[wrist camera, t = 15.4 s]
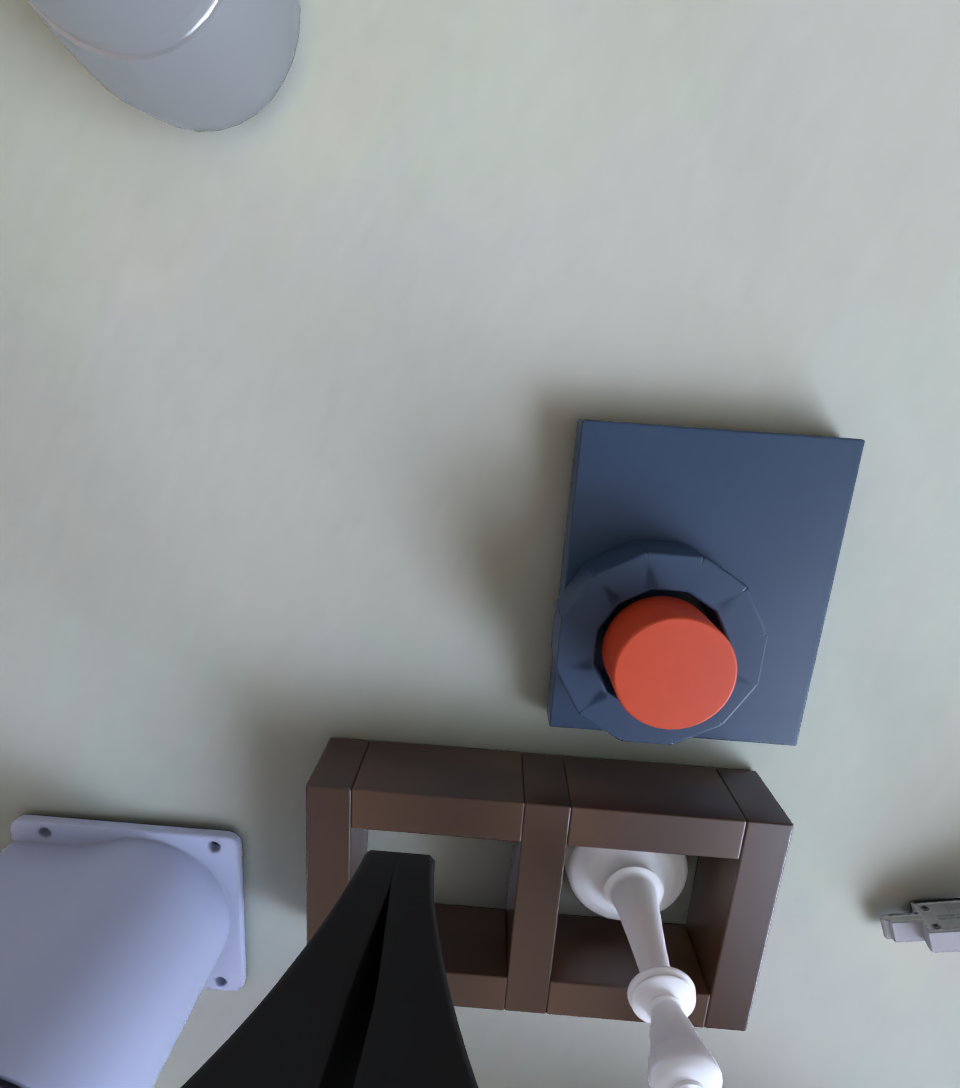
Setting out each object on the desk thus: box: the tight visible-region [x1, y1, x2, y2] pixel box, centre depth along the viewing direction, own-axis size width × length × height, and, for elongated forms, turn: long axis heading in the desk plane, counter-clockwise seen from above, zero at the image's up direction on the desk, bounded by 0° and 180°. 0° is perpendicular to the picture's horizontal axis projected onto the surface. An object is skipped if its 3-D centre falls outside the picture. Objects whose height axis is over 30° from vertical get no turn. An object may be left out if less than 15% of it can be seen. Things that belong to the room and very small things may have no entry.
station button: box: [602, 596, 737, 729], centre depth 17 cm, size 4×4×2 cm
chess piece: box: [564, 845, 722, 1088], centre depth 19 cm, size 5×5×10 cm
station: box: [547, 419, 865, 745], centre depth 19 cm, size 9×11×3 cm
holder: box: [306, 738, 793, 1031], centre depth 22 cm, size 17×9×3 cm, turn 86°
